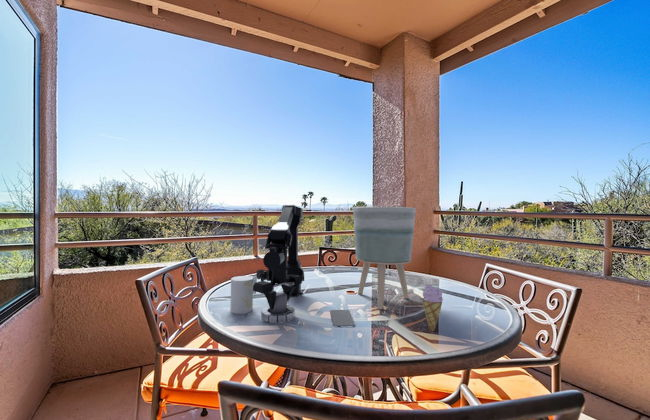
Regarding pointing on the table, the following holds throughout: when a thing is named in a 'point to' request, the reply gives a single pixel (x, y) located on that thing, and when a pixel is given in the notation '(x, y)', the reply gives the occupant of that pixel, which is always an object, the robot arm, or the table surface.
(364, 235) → the planter
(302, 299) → the table surface
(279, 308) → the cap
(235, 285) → the grey cylinder
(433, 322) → the ice cream cone
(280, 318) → the segmented grey ring
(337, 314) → the smartphone
